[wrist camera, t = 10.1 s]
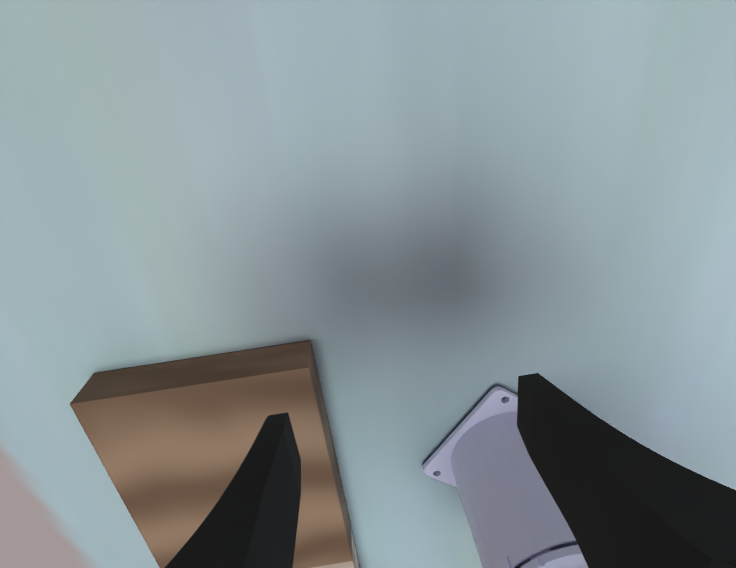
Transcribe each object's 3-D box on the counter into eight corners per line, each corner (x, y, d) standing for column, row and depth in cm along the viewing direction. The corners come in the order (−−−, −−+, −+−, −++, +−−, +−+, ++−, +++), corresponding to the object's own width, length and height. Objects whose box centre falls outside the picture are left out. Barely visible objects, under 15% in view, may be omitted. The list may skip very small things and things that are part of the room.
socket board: (365, 591, 35) (368, 627, 32) (215, 616, 34) (207, 653, 32) (310, 340, 24) (308, 367, 22) (93, 373, 24) (69, 404, 22)
